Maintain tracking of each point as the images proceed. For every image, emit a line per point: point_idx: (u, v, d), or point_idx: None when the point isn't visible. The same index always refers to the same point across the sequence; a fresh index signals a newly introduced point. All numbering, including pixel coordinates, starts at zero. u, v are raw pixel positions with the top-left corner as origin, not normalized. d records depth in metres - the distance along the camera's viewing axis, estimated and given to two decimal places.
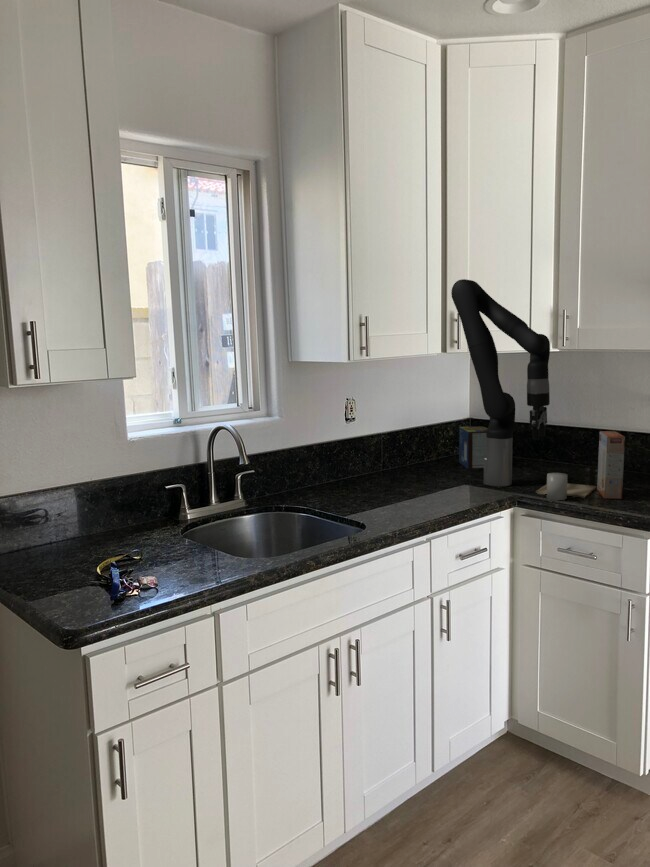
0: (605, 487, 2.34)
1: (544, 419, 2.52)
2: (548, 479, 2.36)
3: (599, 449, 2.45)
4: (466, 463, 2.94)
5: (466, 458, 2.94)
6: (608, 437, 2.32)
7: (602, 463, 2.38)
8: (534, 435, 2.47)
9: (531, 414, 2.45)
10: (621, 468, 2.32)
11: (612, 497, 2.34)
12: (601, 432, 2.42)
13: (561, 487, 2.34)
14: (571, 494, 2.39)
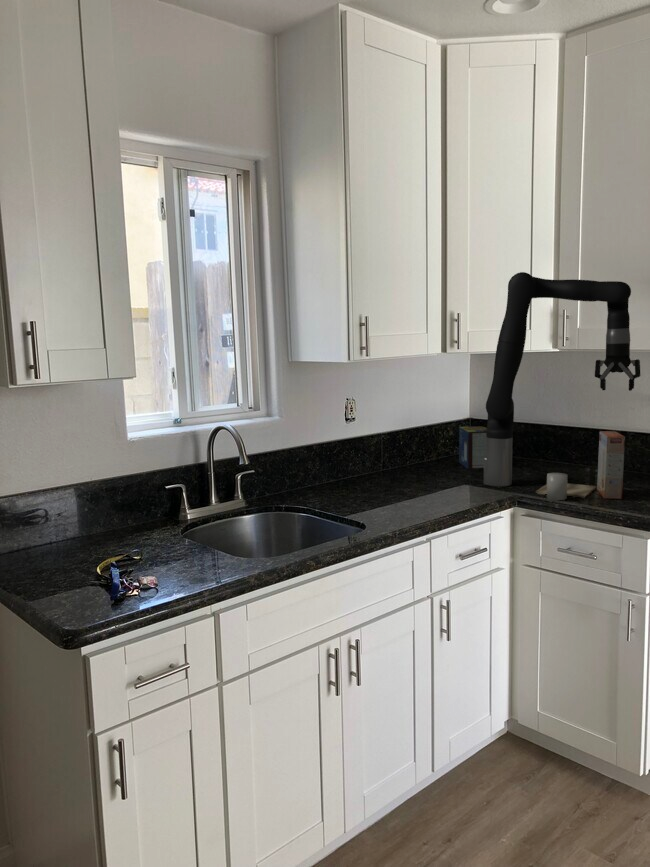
0: (605, 487, 2.34)
1: (610, 371, 2.47)
2: (548, 479, 2.36)
3: (599, 449, 2.45)
4: (466, 463, 2.94)
5: (466, 458, 2.94)
6: (608, 437, 2.32)
7: (602, 463, 2.38)
8: None
9: (638, 363, 2.39)
10: (621, 468, 2.32)
11: (612, 497, 2.34)
12: (601, 432, 2.42)
13: (561, 487, 2.34)
14: (571, 494, 2.39)
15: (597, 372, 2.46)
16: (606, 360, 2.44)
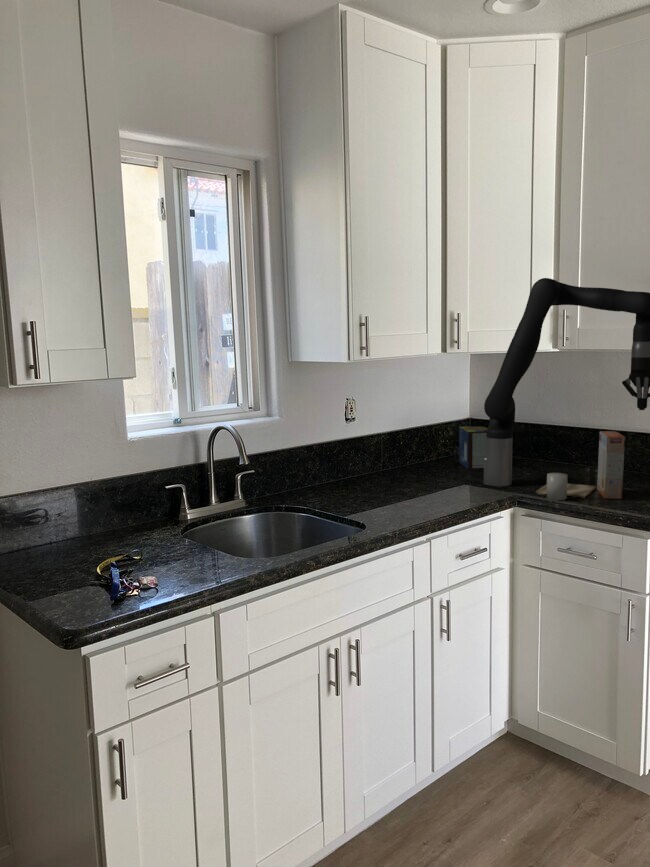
0: (605, 487, 2.34)
1: None
2: (548, 479, 2.36)
3: (599, 449, 2.45)
4: (466, 463, 2.94)
5: (466, 458, 2.94)
6: (608, 437, 2.32)
7: (602, 463, 2.38)
8: None
9: None
10: (621, 468, 2.32)
11: (612, 497, 2.34)
12: (601, 432, 2.42)
13: (561, 487, 2.34)
14: (571, 494, 2.39)
15: (631, 391, 2.32)
16: (630, 375, 2.32)
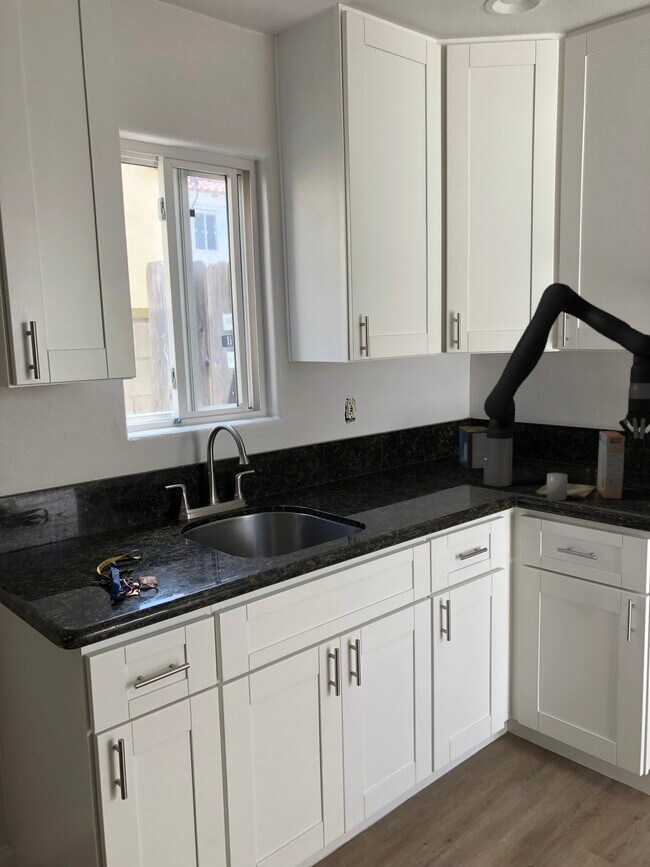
0: (605, 487, 2.34)
1: None
2: (548, 479, 2.36)
3: (599, 449, 2.45)
4: (466, 463, 2.94)
5: (466, 458, 2.94)
6: (608, 437, 2.32)
7: (602, 463, 2.38)
8: (643, 445, 2.33)
9: None
10: (621, 468, 2.32)
11: (612, 497, 2.34)
12: (601, 432, 2.42)
13: (561, 487, 2.34)
14: (571, 494, 2.39)
15: (628, 431, 2.34)
16: (627, 416, 2.34)
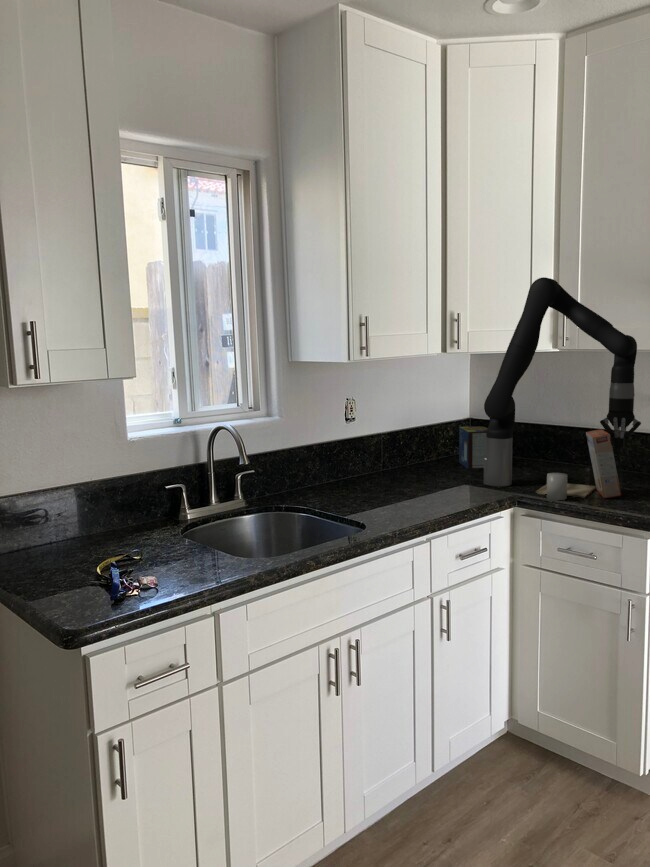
0: (602, 487, 2.34)
1: (619, 426, 2.38)
2: (548, 479, 2.36)
3: (589, 450, 2.45)
4: (466, 463, 2.94)
5: (466, 458, 2.94)
6: (593, 438, 2.33)
7: (594, 464, 2.39)
8: (623, 444, 2.36)
9: (638, 426, 2.33)
10: (613, 465, 2.33)
11: (611, 495, 2.34)
12: (587, 433, 2.43)
13: (561, 487, 2.34)
14: (571, 494, 2.39)
15: (609, 430, 2.37)
16: (608, 415, 2.37)
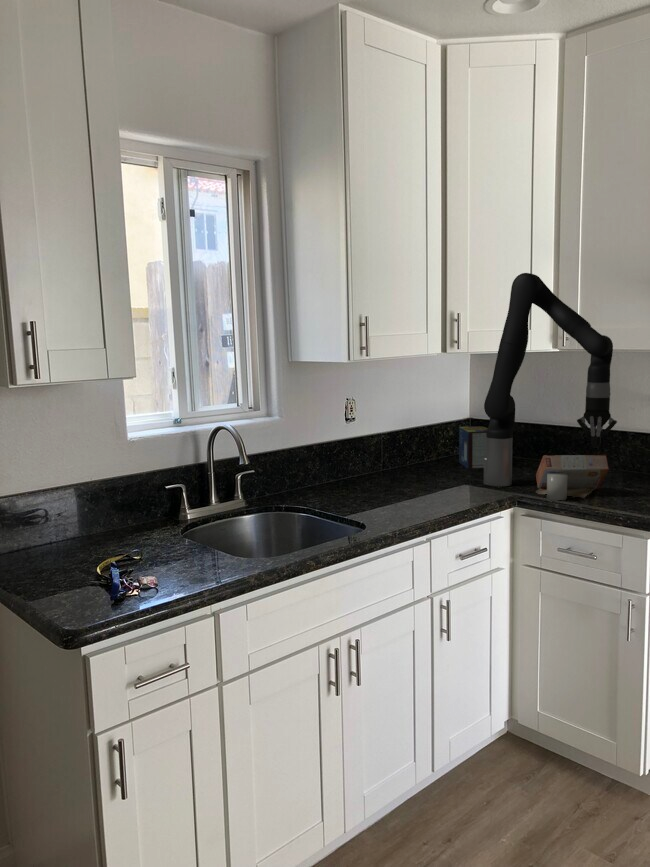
0: (597, 469, 2.37)
1: None
2: (548, 479, 2.36)
3: None
4: (466, 463, 2.94)
5: (466, 458, 2.94)
6: (546, 468, 2.38)
7: (572, 476, 2.41)
8: (599, 442, 2.40)
9: (613, 425, 2.37)
10: (575, 456, 2.40)
11: (606, 462, 2.38)
12: (539, 483, 2.47)
13: (562, 487, 2.34)
14: (571, 494, 2.39)
15: (586, 429, 2.41)
16: (585, 414, 2.41)
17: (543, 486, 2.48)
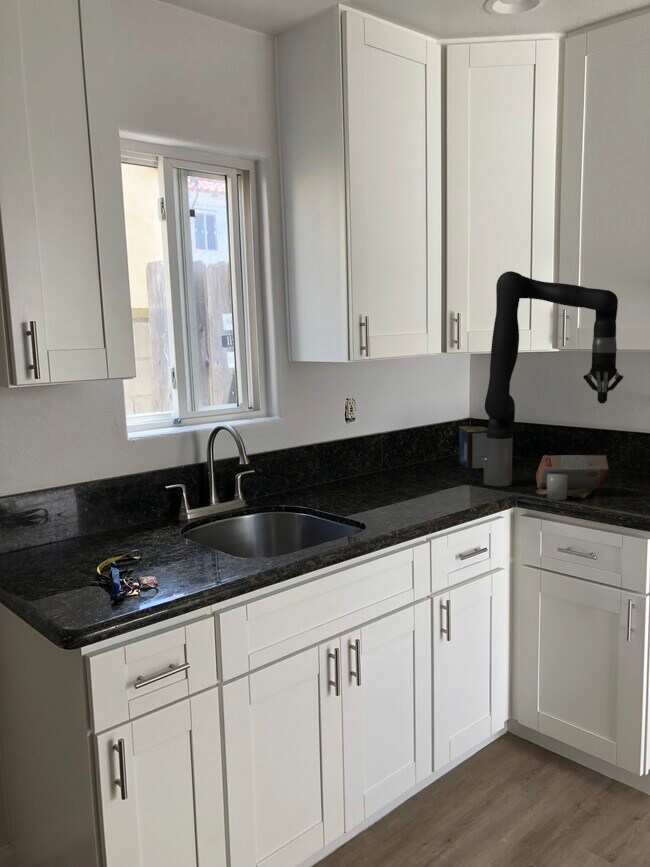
0: (597, 469, 2.37)
1: (602, 381, 2.43)
2: (548, 479, 2.36)
3: None
4: (466, 463, 2.94)
5: (466, 458, 2.94)
6: (546, 468, 2.38)
7: (572, 476, 2.41)
8: None
9: (620, 380, 2.38)
10: (575, 456, 2.40)
11: (606, 462, 2.38)
12: (539, 483, 2.47)
13: (562, 487, 2.34)
14: (571, 494, 2.39)
15: (592, 385, 2.42)
16: (591, 370, 2.42)
17: (543, 486, 2.48)
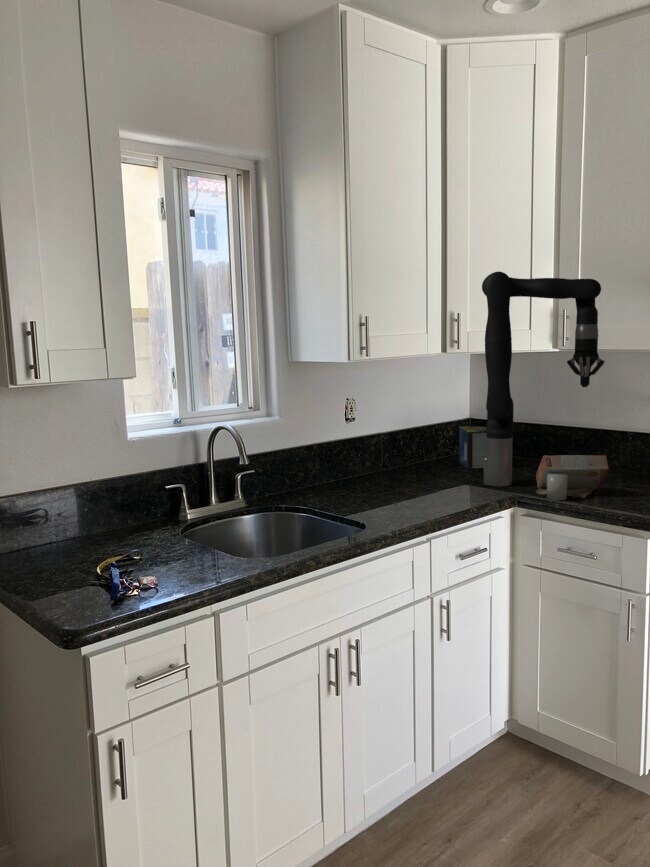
0: (597, 468, 2.37)
1: None
2: (548, 479, 2.36)
3: None
4: (466, 463, 2.94)
5: (466, 458, 2.94)
6: (546, 468, 2.38)
7: (572, 476, 2.41)
8: (588, 382, 2.53)
9: (601, 365, 2.50)
10: (575, 456, 2.40)
11: (606, 462, 2.38)
12: (539, 483, 2.47)
13: (562, 487, 2.34)
14: (571, 494, 2.39)
15: (575, 369, 2.54)
16: (574, 355, 2.54)
17: (543, 486, 2.48)
